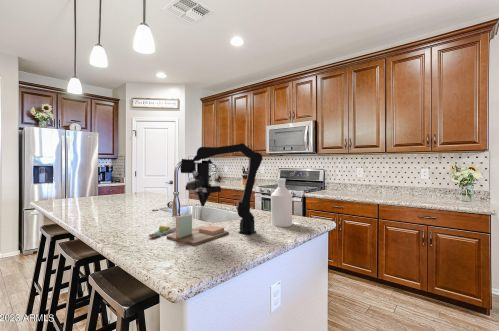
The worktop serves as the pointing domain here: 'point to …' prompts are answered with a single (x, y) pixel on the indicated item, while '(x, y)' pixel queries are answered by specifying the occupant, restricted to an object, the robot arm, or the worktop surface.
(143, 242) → the worktop surface
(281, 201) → the bottle
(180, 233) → the tile
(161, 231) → the flamethrower
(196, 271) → the worktop surface
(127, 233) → the worktop surface
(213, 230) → the tile
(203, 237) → the board
